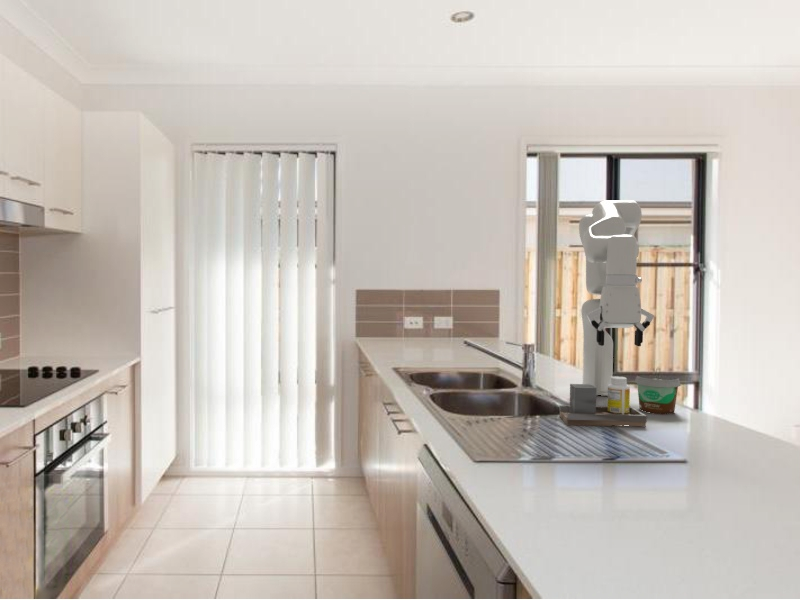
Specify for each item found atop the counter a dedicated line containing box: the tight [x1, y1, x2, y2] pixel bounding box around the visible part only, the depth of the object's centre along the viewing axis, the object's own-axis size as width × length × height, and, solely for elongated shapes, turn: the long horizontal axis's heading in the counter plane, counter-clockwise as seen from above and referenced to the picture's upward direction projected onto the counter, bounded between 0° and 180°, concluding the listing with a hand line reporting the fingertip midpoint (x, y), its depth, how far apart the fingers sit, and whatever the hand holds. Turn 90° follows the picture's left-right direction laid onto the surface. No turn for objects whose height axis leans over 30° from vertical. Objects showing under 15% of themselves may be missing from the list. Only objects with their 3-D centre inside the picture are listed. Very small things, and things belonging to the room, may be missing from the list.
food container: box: [634, 375, 682, 415], centre depth 173 cm, size 12×6×10 cm, turn 62°
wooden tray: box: [558, 383, 648, 428], centre depth 161 cm, size 11×20×10 cm, turn 87°
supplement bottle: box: [607, 375, 631, 415], centre depth 161 cm, size 6×6×10 cm
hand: (619, 345), depth 161 cm, fingers open, 9 cm apart
